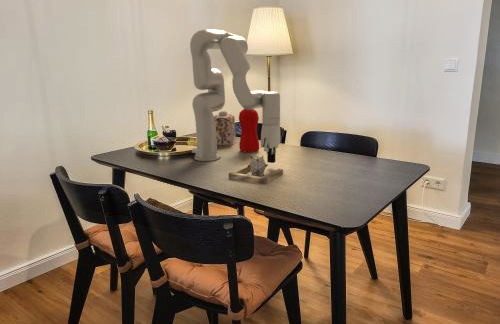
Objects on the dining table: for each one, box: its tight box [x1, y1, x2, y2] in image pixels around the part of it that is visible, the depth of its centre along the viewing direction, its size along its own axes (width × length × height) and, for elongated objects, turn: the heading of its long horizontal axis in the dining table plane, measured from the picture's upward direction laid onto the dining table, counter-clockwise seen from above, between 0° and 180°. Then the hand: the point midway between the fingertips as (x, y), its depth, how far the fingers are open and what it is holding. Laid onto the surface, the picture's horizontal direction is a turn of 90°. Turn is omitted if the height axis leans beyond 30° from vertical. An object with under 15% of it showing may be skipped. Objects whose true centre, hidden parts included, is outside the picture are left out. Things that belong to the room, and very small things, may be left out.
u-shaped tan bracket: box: [228, 163, 284, 185], centre depth 167 cm, size 17×16×2 cm
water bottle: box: [238, 108, 260, 154], centre depth 206 cm, size 9×11×25 cm
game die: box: [247, 155, 268, 177], centre depth 167 cm, size 9×8×10 cm
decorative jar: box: [213, 110, 236, 146], centre depth 226 cm, size 12×12×18 cm
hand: (271, 162), depth 177 cm, fingers closed
